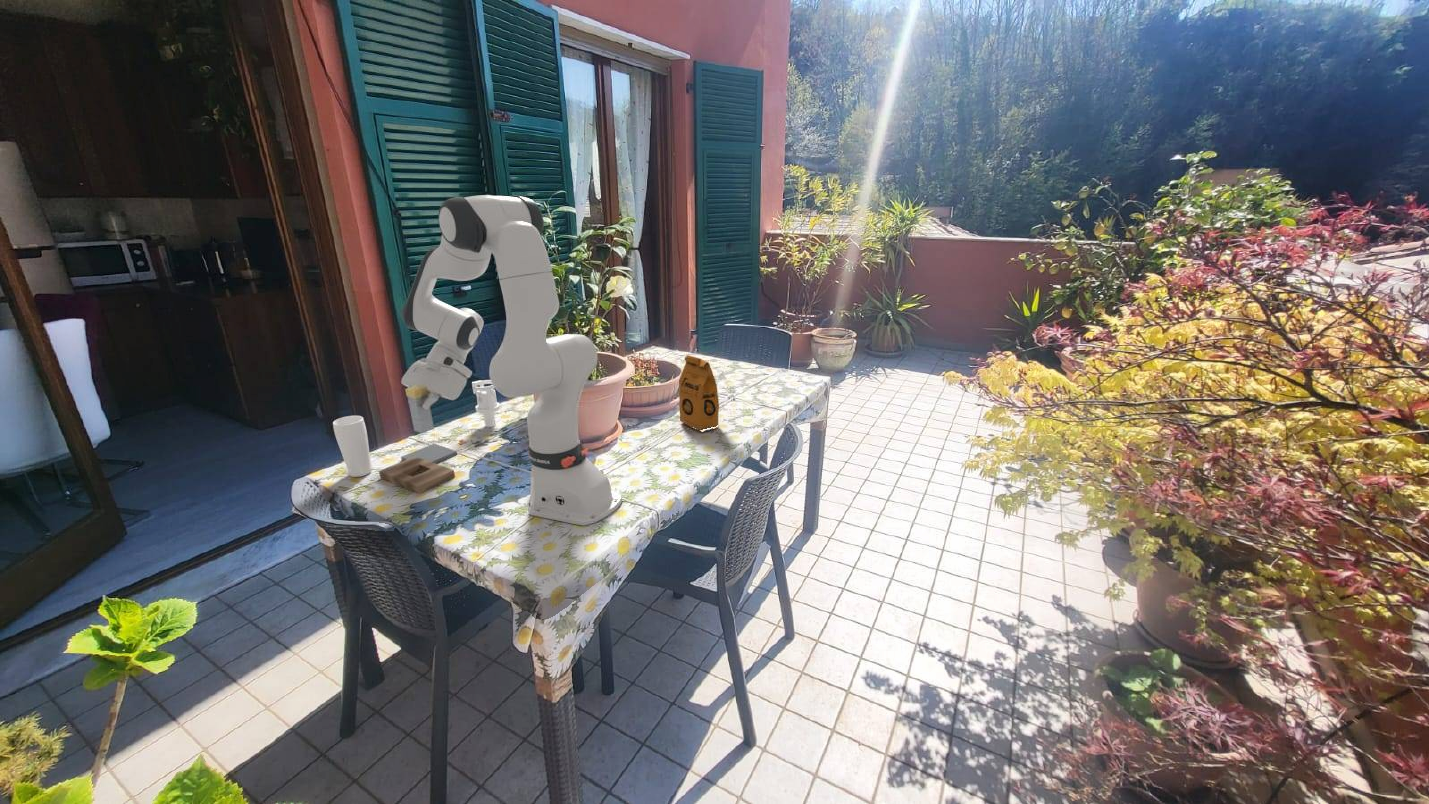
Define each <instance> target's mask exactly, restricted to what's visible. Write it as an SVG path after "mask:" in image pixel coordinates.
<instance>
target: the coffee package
mask: <svg viewBox="0 0 1429 804" xmlns="http://www.w3.org/2000/svg"><path fill="white" fill-rule="evenodd" d="M684 361H685V364H684V366H683V368H682V371H681V375H680V376H679V379H678V389H679V390H678V393H679V394H678V395H679V396H678V399H679V405H678V408H679V422H680V421H681V422H680V423H683V424H684V425H686V426H688V427H690V428H692V427H694V428H696V429H698V430H703V429H707V428H711V427H716V426H717V425H718V426H719V411H720V409H719V408H720V402H719V393H718V384H717V381H716V378H715V375H714V373H713V369H712V368H711V364H710V362H709V361H706V360H704V359H702V358H699V357H695V356H692V355H689V354H687V355H685V357H684ZM696 429H695V430H696ZM698 430H697V431H698Z"/></svg>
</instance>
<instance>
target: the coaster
mask: <svg viewBox="0 0 1429 804" xmlns="http://www.w3.org/2000/svg"><path fill="white" fill-rule="evenodd" d="M457 451H458V450H455V449H452V448H449V447H445V446H442V445H439V444H436V443H432V444H429V445H426V446H425V447H422V448H419V449H417V450H415V451H412V452H409V453H407V454H404V455H402V456H400V457H401V458H400V459H401V461H405V460H407V459H409V458H412V457H414V456H416V457H419V458H421V459H424V460H427V461H430V462H433V463H435V464H438V462H439V463H441V462H443V461H446V460H447V459H449V458H452V457H454V456H456V455H458V452H457ZM442 460H443V461H442ZM440 461H441V462H440Z"/></svg>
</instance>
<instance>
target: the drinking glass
mask: <svg viewBox="0 0 1429 804" xmlns="http://www.w3.org/2000/svg"><path fill="white" fill-rule="evenodd" d="M332 426H333V432H334V436H335V439H336V441H337V444H338V447H339V449H340V450H339V451H340V452H341V455H342V458H343V460H344V464H345V466H346V469H347V474H348V476H349V477H352V478H360V477H365V476H367V475H369V474H370V473H372V470H373V467H372V463H371V462H372V461H371V455H370V454H371V453H370V448H369V438H368V432H367V427H366V423H365V420H364V417H363V416H361V415H348V416H343V417H340V418H337V419H335V420H334V421H333V422H332Z"/></svg>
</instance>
